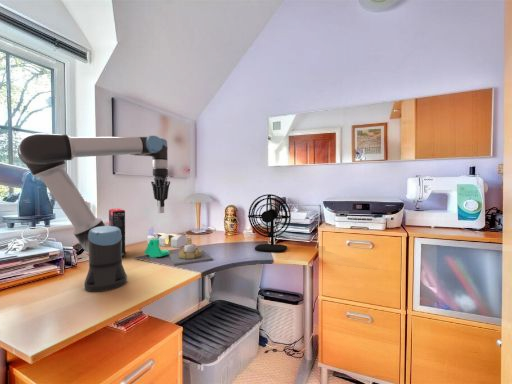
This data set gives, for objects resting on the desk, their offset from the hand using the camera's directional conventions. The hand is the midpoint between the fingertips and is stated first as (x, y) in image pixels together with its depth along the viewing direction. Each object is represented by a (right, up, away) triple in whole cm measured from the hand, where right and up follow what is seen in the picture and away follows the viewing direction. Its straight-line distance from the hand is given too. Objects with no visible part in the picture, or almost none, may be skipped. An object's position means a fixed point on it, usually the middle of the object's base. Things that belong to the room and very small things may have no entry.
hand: (161, 212), depth 135 cm
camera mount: (-7, -27, +14) cm, 31 cm away
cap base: (+13, -26, +8) cm, 30 cm away
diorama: (-11, -26, +41) cm, 50 cm away
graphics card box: (-31, -27, +15) cm, 44 cm away
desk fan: (+59, -26, +25) cm, 69 cm away
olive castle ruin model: (+13, -25, +10) cm, 30 cm away
